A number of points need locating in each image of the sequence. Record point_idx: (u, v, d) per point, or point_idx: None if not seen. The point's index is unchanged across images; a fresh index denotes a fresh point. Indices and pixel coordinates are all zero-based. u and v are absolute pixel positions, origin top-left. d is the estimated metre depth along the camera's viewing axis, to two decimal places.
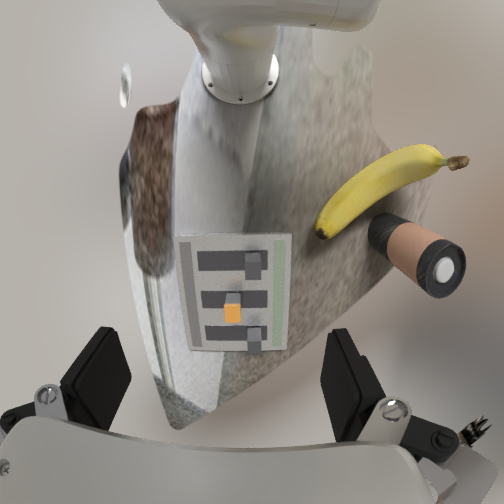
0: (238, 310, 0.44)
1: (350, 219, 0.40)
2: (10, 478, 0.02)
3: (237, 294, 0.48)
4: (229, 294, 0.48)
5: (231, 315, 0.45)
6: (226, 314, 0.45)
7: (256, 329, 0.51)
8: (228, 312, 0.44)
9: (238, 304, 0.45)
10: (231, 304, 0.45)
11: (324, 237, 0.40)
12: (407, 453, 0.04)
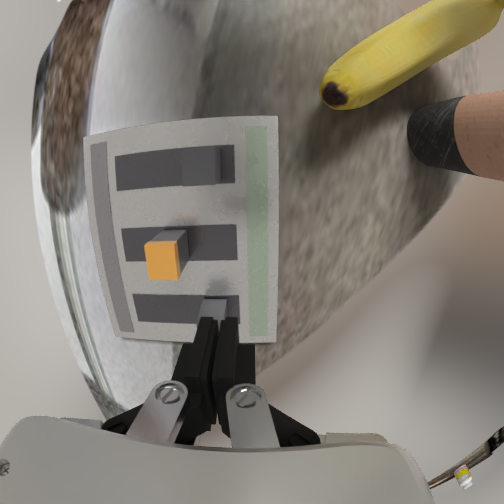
0: (171, 253, 0.22)
1: (382, 78, 0.17)
2: (10, 478, 0.02)
3: (179, 231, 0.25)
4: (165, 231, 0.25)
5: (158, 264, 0.22)
6: (149, 262, 0.22)
7: (218, 302, 0.28)
8: (153, 257, 0.22)
9: (173, 241, 0.22)
10: (159, 242, 0.22)
11: (340, 96, 0.17)
12: (407, 453, 0.04)
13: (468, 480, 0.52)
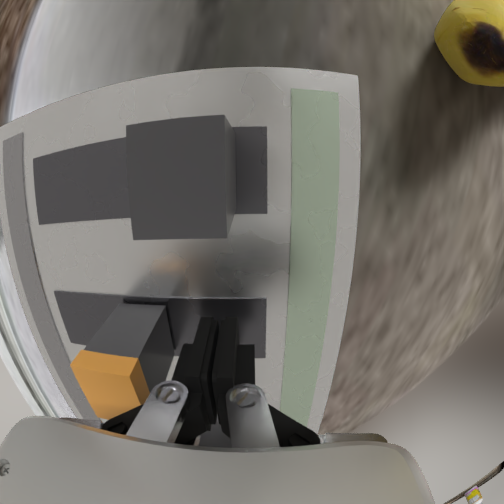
0: (127, 389, 0.08)
1: None
2: (10, 478, 0.02)
3: (150, 311, 0.12)
4: (124, 309, 0.12)
5: (107, 401, 0.08)
6: (89, 394, 0.08)
7: None
8: (93, 389, 0.08)
9: (131, 360, 0.09)
10: (102, 357, 0.08)
11: None
12: (407, 453, 0.04)
13: (479, 501, 0.38)
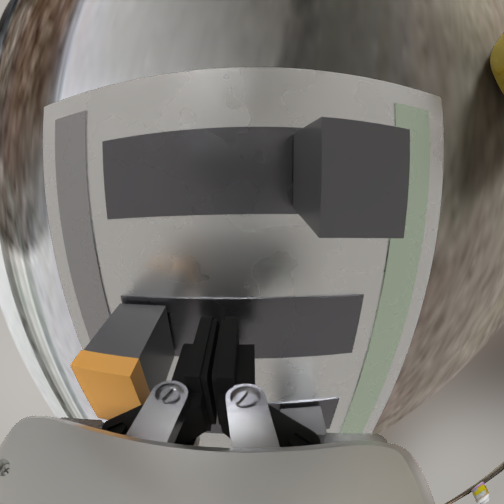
0: (128, 390, 0.08)
1: None
2: (10, 478, 0.02)
3: (151, 311, 0.12)
4: (124, 309, 0.12)
5: (107, 401, 0.08)
6: (89, 394, 0.08)
7: (309, 414, 0.14)
8: (93, 389, 0.08)
9: (131, 360, 0.09)
10: (103, 358, 0.08)
11: None
12: (407, 453, 0.04)
13: (486, 497, 0.38)
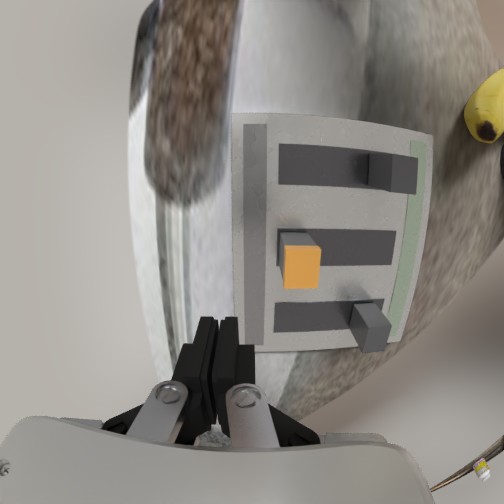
0: (316, 259, 0.20)
1: None
2: (10, 478, 0.02)
3: (302, 234, 0.24)
4: (286, 234, 0.24)
5: (299, 271, 0.20)
6: (289, 269, 0.20)
7: (370, 306, 0.26)
8: (294, 264, 0.20)
9: (315, 246, 0.21)
10: (300, 246, 0.20)
11: (493, 135, 0.16)
12: (407, 453, 0.04)
13: (487, 472, 0.51)
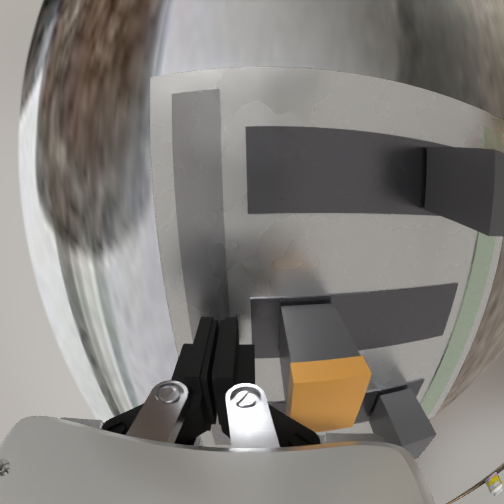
0: (359, 390, 0.08)
1: None
2: (10, 478, 0.02)
3: (325, 310, 0.12)
4: (293, 312, 0.12)
5: (320, 411, 0.08)
6: (299, 410, 0.08)
7: (404, 397, 0.14)
8: (311, 403, 0.08)
9: (356, 359, 0.09)
10: (325, 365, 0.08)
11: None
12: (407, 453, 0.04)
13: (499, 487, 0.37)
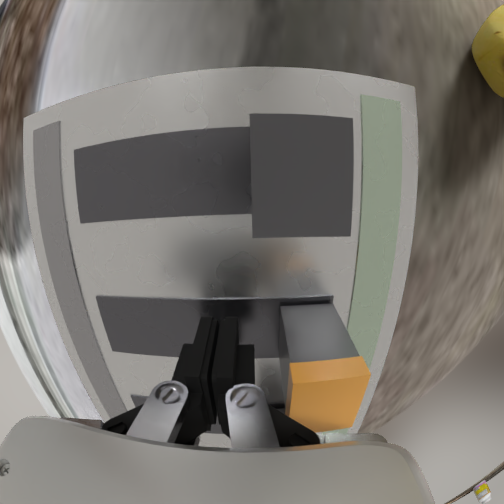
0: (358, 390, 0.08)
1: None
2: (10, 478, 0.02)
3: (324, 310, 0.12)
4: (293, 312, 0.12)
5: (319, 412, 0.08)
6: (299, 411, 0.08)
7: None
8: (310, 403, 0.08)
9: (356, 359, 0.09)
10: (324, 365, 0.08)
11: None
12: (407, 453, 0.04)
13: (487, 496, 0.37)
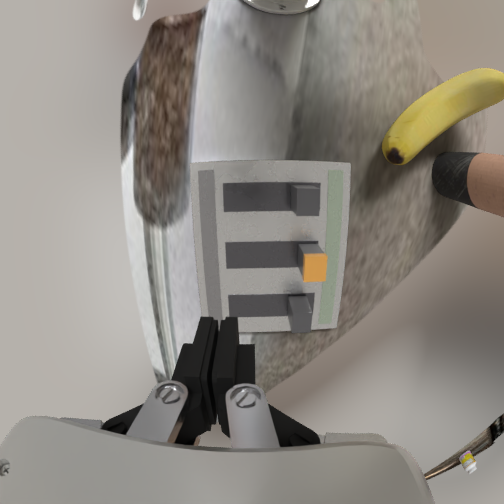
0: (324, 262, 0.31)
1: (424, 143, 0.27)
2: (10, 478, 0.02)
3: (314, 245, 0.34)
4: (303, 245, 0.35)
5: (313, 270, 0.31)
6: (307, 269, 0.31)
7: (301, 298, 0.37)
8: (310, 265, 0.31)
9: (323, 254, 0.31)
10: (313, 254, 0.31)
11: (399, 159, 0.26)
12: (407, 453, 0.04)
13: (473, 465, 0.60)
